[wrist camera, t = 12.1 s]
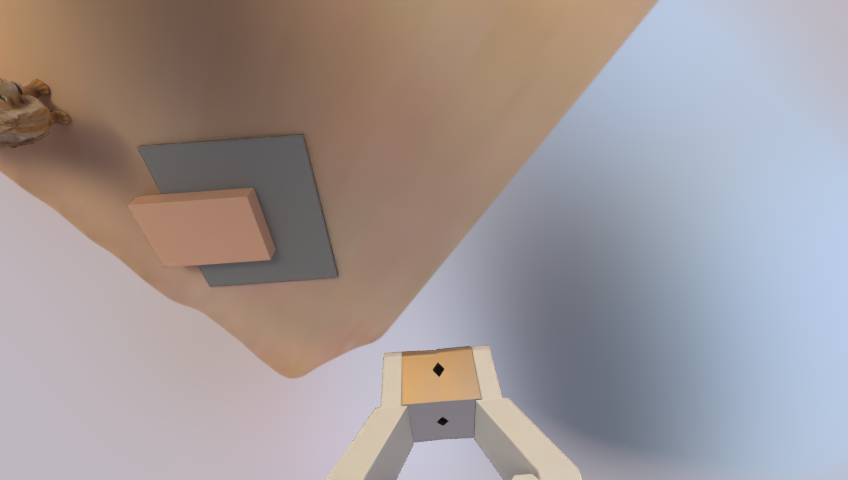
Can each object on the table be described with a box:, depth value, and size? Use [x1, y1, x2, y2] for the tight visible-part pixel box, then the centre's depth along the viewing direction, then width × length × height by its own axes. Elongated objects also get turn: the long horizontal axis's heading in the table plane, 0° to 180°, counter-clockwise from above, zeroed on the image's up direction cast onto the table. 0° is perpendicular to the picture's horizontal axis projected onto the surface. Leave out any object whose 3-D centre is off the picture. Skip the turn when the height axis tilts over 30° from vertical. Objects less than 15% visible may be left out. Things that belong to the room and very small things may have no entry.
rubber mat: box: [137, 134, 338, 287], centre depth 40 cm, size 18×16×1 cm
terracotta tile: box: [127, 188, 276, 268], centre depth 39 cm, size 8×2×12 cm
